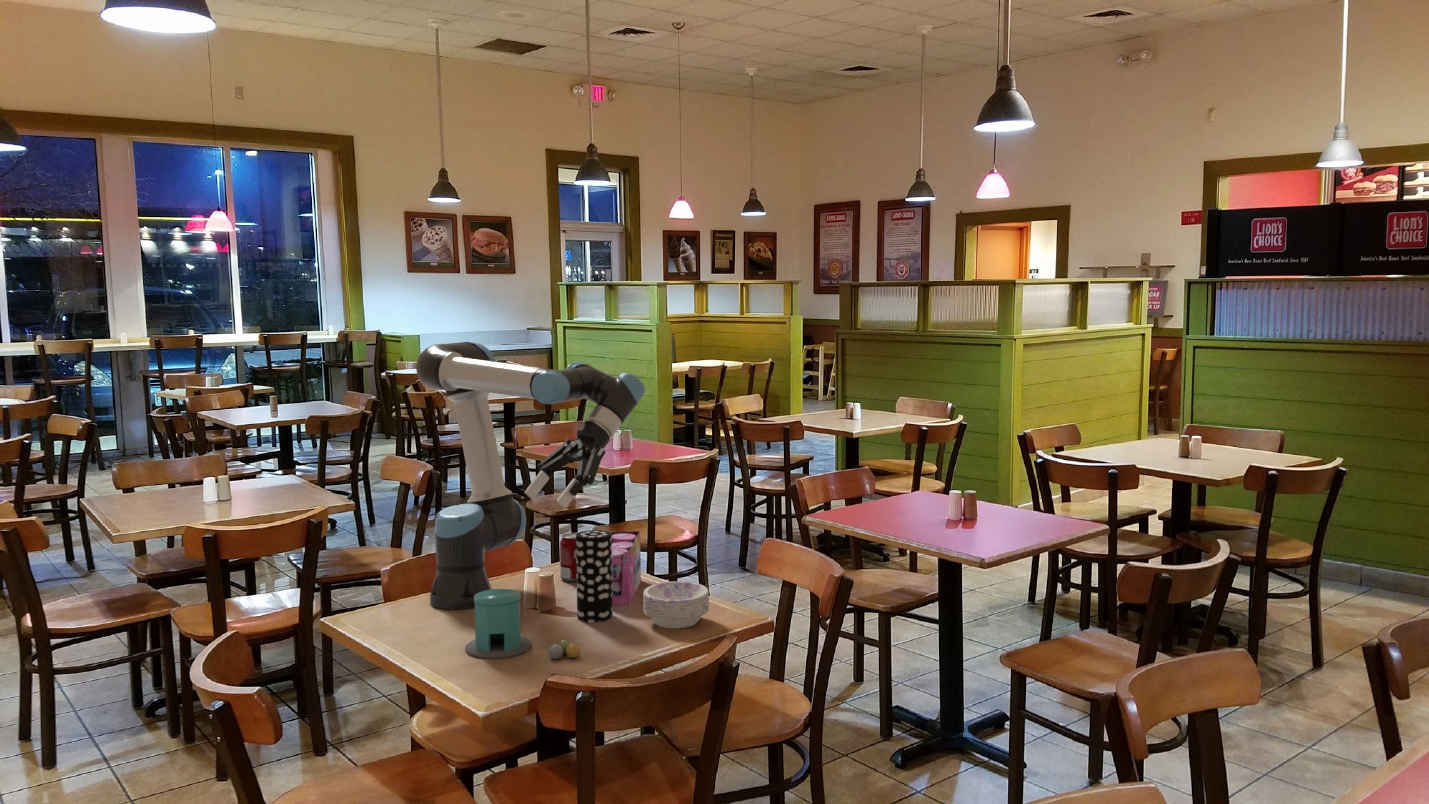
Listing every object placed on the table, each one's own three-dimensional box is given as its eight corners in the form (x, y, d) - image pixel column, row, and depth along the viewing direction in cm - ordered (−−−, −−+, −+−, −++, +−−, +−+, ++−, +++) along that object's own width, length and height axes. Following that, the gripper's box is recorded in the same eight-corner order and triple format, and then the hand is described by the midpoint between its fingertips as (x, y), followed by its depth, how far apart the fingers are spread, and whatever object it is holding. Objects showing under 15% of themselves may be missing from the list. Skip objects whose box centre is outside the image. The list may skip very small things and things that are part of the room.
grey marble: (546, 660, 215) (546, 646, 214) (552, 655, 217) (551, 641, 217) (560, 661, 214) (559, 647, 214) (565, 656, 217) (565, 642, 216)
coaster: (453, 656, 217) (453, 653, 217) (483, 635, 231) (483, 632, 231) (515, 661, 214) (514, 658, 214) (541, 639, 228) (541, 636, 228)
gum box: (629, 607, 251) (628, 553, 250) (597, 607, 252) (596, 552, 250) (641, 580, 275) (640, 530, 274) (612, 580, 276) (611, 530, 274)
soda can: (567, 583, 272) (567, 539, 271) (556, 578, 277) (555, 534, 276) (590, 579, 276) (589, 535, 275) (578, 574, 281) (577, 531, 280)
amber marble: (563, 659, 215) (563, 645, 215) (569, 654, 218) (568, 641, 218) (577, 660, 214) (577, 646, 214) (582, 655, 217) (582, 642, 217)
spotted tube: (615, 612, 247) (614, 530, 245) (608, 623, 239) (607, 538, 237) (581, 611, 248) (580, 529, 246) (573, 621, 240) (572, 537, 238)
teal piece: (477, 638, 227) (475, 589, 225) (522, 636, 228) (521, 587, 227) (473, 653, 217) (472, 603, 216) (520, 651, 218) (519, 600, 217)
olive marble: (555, 655, 218) (554, 641, 217) (560, 650, 220) (560, 637, 220) (568, 656, 217) (568, 642, 217) (573, 651, 220) (573, 638, 219)
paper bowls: (648, 635, 230) (647, 601, 229) (639, 615, 245) (639, 582, 244) (714, 631, 233) (714, 597, 232) (702, 611, 248) (702, 579, 247)
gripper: (639, 445, 235) (585, 519, 227) (578, 434, 253) (526, 502, 245) (620, 424, 231) (564, 498, 222) (559, 414, 249) (505, 482, 241)
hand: (544, 500), depth 234 cm, fingers open, 13 cm apart
